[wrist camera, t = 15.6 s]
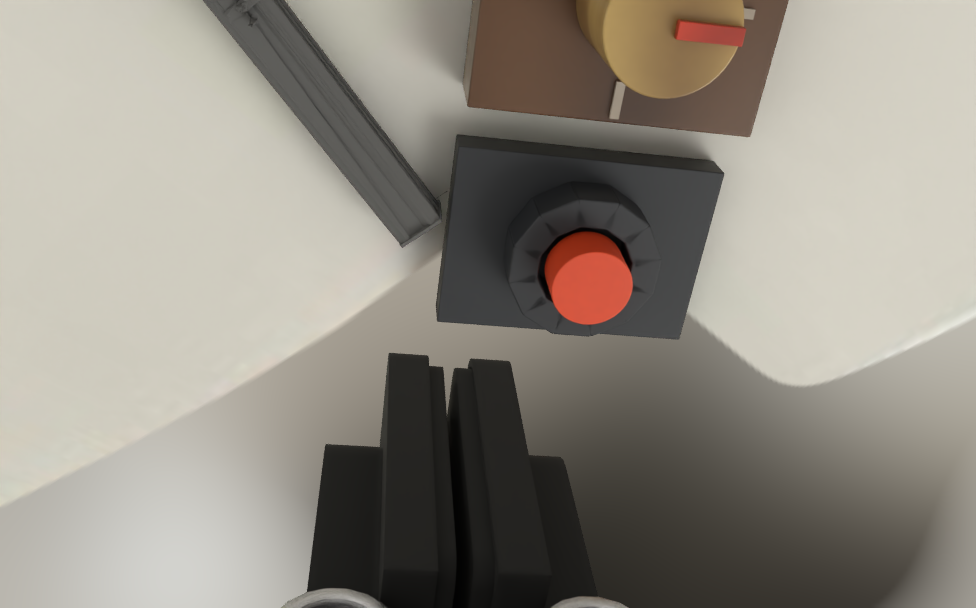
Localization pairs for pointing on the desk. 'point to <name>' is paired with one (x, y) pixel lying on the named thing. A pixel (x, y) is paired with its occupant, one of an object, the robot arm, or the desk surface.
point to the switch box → (571, 232)
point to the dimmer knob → (664, 41)
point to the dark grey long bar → (331, 113)
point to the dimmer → (604, 70)
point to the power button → (588, 278)
